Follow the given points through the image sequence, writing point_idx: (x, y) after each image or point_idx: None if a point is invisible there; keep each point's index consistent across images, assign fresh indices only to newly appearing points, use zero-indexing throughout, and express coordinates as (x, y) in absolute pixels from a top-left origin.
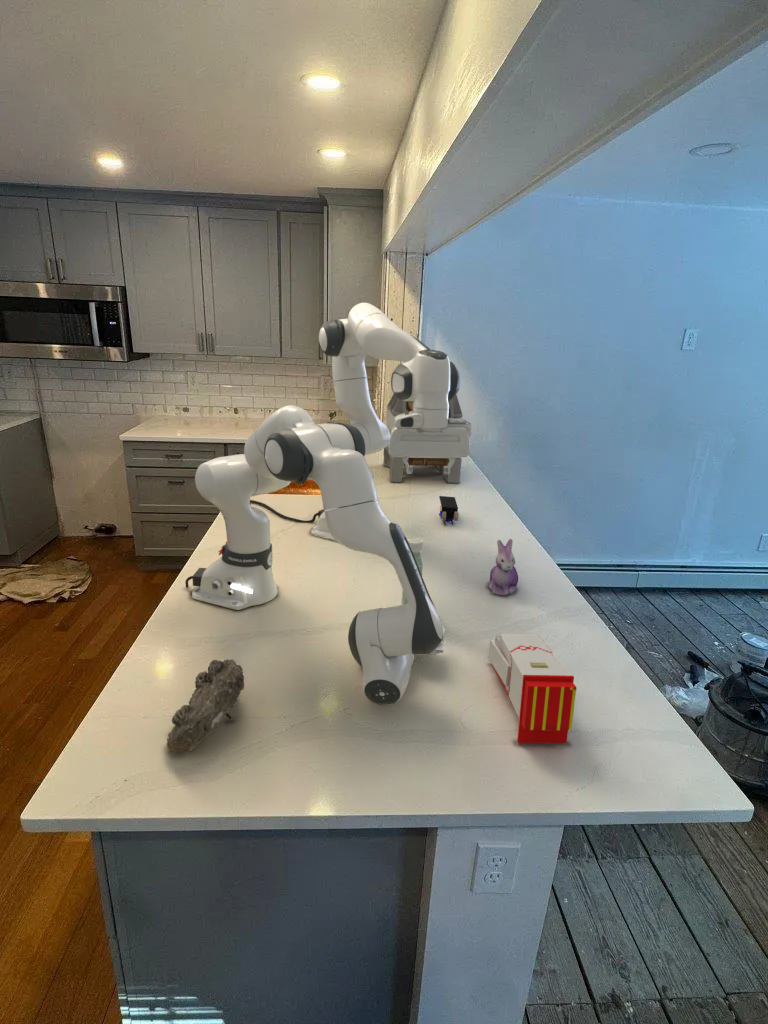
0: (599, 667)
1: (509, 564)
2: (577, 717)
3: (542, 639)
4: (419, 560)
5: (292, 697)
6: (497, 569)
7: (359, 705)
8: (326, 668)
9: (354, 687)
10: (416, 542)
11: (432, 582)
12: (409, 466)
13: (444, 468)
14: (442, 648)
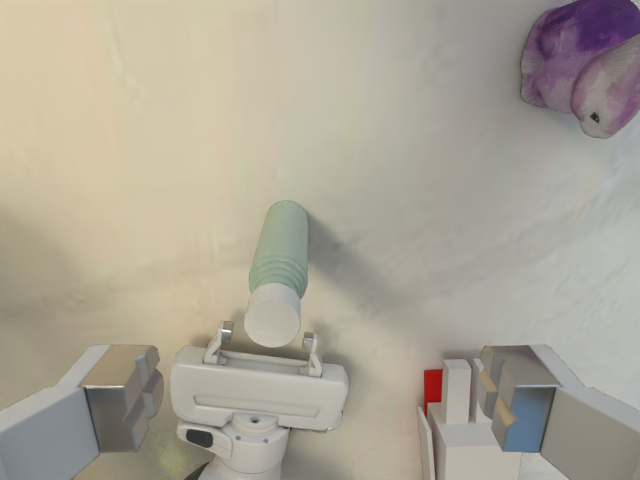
0: (608, 361)
1: (608, 137)
2: None
3: (519, 463)
4: None
5: (117, 453)
6: (566, 93)
7: None
8: None
9: None
10: (277, 339)
11: (356, 34)
12: (96, 427)
13: (499, 445)
14: (337, 424)
